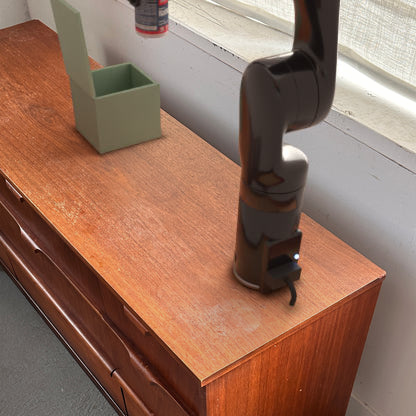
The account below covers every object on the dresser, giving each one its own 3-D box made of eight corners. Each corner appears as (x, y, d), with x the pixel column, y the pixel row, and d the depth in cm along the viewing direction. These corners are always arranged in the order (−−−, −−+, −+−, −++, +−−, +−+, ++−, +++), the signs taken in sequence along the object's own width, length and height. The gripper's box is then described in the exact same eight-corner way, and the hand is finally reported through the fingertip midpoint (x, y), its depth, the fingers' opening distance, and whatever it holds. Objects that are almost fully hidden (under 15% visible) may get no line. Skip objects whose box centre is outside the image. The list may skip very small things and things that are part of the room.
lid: (52, -10, 109) (47, -9, 109) (79, 12, 103) (75, 13, 103) (70, 72, 121) (66, 73, 120) (96, 96, 114) (92, 98, 114)
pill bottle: (164, 40, 97) (162, -24, 90) (131, 37, 98) (127, -28, 91) (172, 27, 100) (171, -36, 94) (140, 24, 101) (137, -39, 94)
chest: (134, 113, 134) (131, 61, 126) (161, 137, 127) (159, 83, 119) (75, 128, 129) (68, 75, 121) (100, 154, 122) (94, 99, 114)
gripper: (111, -128, 78) (121, 18, 91) (207, -138, 84) (204, 2, 96) (85, -140, 82) (98, 1, 95) (178, -149, 88) (179, -14, 100)
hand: (151, 1), depth 96 cm, fingers closed on pill bottle, 5 cm apart
